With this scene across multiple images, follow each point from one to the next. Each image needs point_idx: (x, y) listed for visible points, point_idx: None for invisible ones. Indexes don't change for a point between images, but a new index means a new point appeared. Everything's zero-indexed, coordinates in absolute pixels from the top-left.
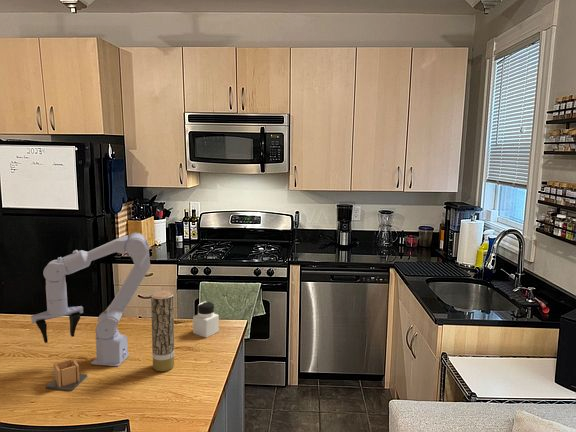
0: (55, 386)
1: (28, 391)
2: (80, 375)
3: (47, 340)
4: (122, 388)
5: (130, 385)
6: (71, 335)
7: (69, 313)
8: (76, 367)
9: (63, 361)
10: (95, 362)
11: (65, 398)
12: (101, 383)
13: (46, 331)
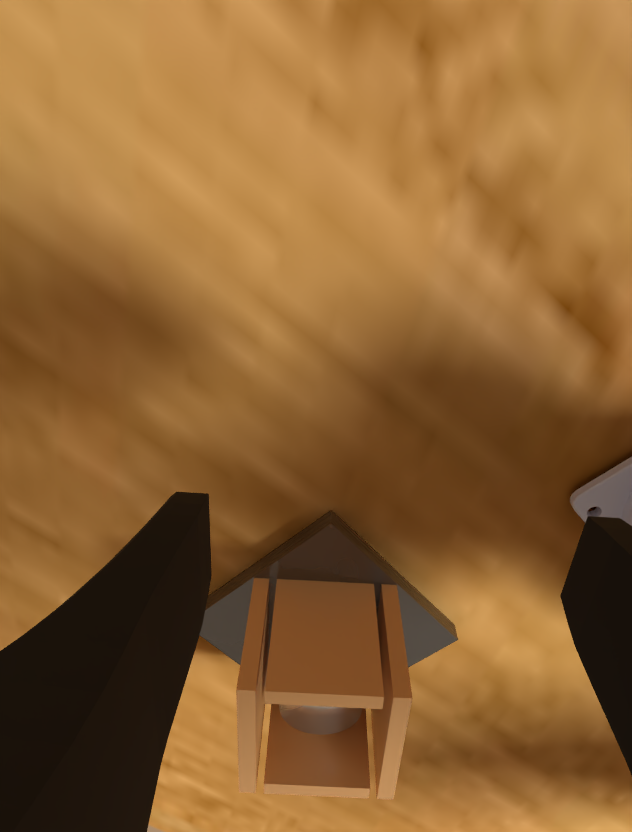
0: (237, 655)
1: (84, 576)
2: (415, 629)
3: (202, 615)
4: (533, 806)
5: (579, 806)
6: (572, 588)
7: None
8: (376, 777)
9: (318, 698)
10: (602, 516)
11: (263, 739)
12: (479, 724)
13: (149, 809)
